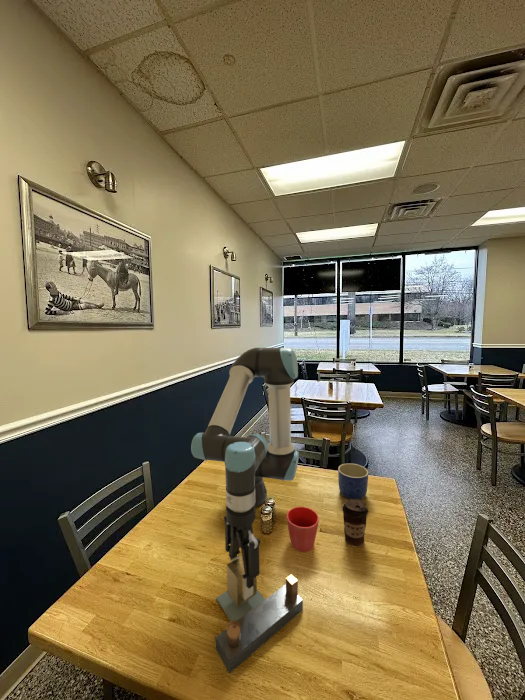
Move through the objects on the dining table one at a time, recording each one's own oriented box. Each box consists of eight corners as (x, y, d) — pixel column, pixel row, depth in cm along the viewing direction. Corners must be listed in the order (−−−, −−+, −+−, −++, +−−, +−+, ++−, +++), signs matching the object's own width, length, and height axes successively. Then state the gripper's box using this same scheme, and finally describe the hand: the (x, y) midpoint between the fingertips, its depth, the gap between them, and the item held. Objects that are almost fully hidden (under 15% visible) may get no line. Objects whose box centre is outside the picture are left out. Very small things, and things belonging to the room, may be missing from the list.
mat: (216, 599, 78) (216, 597, 78) (246, 579, 84) (246, 577, 84) (236, 630, 70) (236, 627, 70) (268, 605, 76) (268, 603, 76)
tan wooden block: (237, 607, 73) (237, 577, 72) (227, 593, 77) (226, 564, 76) (256, 593, 77) (256, 565, 76) (245, 580, 80) (245, 553, 80)
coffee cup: (369, 552, 93) (370, 514, 92) (342, 548, 95) (343, 511, 94) (365, 533, 102) (366, 498, 101) (341, 530, 104) (341, 495, 103)
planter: (370, 491, 128) (371, 467, 127) (363, 506, 117) (364, 480, 116) (342, 483, 134) (343, 460, 133) (334, 497, 124) (334, 472, 123)
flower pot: (322, 537, 100) (322, 510, 100) (313, 560, 90) (313, 531, 90) (292, 528, 105) (292, 503, 104) (282, 550, 95) (281, 522, 94)
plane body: (229, 673, 61) (228, 643, 61) (215, 649, 66) (214, 620, 65) (302, 610, 75) (302, 585, 74) (286, 593, 79) (286, 569, 79)
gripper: (211, 493, 80) (212, 572, 81) (249, 529, 65) (250, 624, 67) (234, 484, 84) (235, 559, 86) (274, 516, 70) (274, 605, 72)
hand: (241, 587), depth 77 cm, fingers closed on tan wooden block, 5 cm apart
